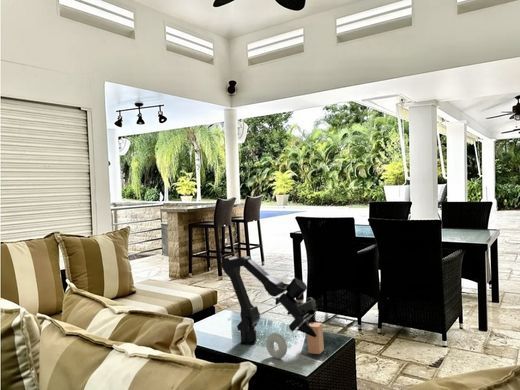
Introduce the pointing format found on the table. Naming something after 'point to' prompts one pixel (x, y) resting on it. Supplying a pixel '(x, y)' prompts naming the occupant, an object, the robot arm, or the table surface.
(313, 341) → the post
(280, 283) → the robot arm
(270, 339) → the donut
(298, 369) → the table surface
